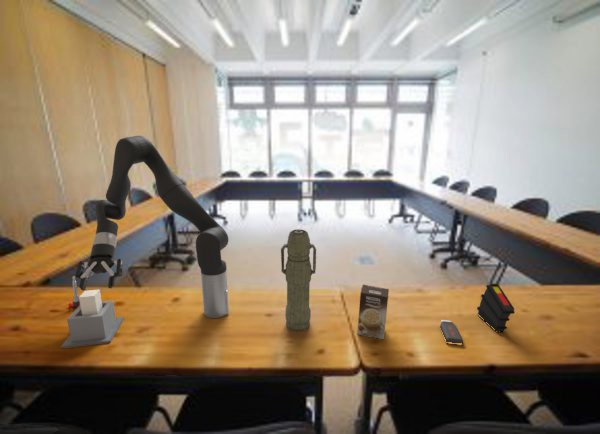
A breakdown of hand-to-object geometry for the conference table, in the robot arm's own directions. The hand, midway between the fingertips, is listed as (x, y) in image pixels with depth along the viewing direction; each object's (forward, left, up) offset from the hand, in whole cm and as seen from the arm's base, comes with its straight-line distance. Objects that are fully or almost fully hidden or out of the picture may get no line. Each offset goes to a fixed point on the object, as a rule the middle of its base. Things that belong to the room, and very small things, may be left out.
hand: (96, 288), depth 109 cm
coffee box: (-93, +25, -13) cm, 97 cm away
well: (0, +6, -13) cm, 15 cm away
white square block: (0, +6, -12) cm, 14 cm away
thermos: (-69, +15, -13) cm, 72 cm away
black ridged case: (-138, +30, -13) cm, 142 cm away
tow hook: (+12, -17, -14) cm, 25 cm away
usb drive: (-119, +32, -14) cm, 124 cm away
